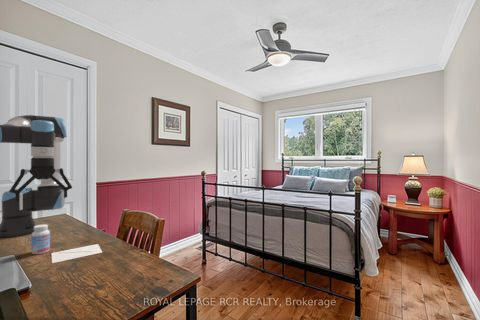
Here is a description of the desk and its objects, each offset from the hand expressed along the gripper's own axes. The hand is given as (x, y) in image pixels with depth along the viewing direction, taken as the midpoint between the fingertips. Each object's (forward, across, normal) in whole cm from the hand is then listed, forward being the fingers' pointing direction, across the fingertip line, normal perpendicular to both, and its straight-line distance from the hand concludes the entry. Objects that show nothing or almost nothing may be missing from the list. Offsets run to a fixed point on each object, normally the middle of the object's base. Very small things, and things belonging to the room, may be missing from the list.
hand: (42, 207), depth 100 cm
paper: (+19, +11, -10) cm, 24 cm away
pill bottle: (+20, -1, +1) cm, 20 cm away
